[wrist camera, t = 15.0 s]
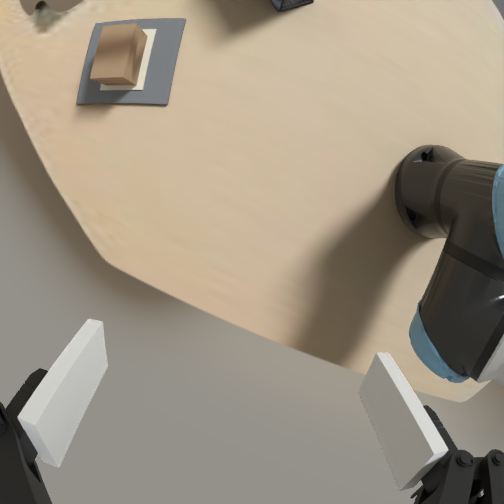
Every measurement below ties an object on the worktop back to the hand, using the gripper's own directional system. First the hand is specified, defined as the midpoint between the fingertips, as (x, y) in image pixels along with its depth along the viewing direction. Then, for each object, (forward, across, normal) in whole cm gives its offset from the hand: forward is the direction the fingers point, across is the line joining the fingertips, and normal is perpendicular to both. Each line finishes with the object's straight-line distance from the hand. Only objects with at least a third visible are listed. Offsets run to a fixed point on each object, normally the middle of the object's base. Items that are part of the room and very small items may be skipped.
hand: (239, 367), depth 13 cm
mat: (+32, +20, -22) cm, 43 cm away
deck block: (+31, +20, -22) cm, 43 cm away
